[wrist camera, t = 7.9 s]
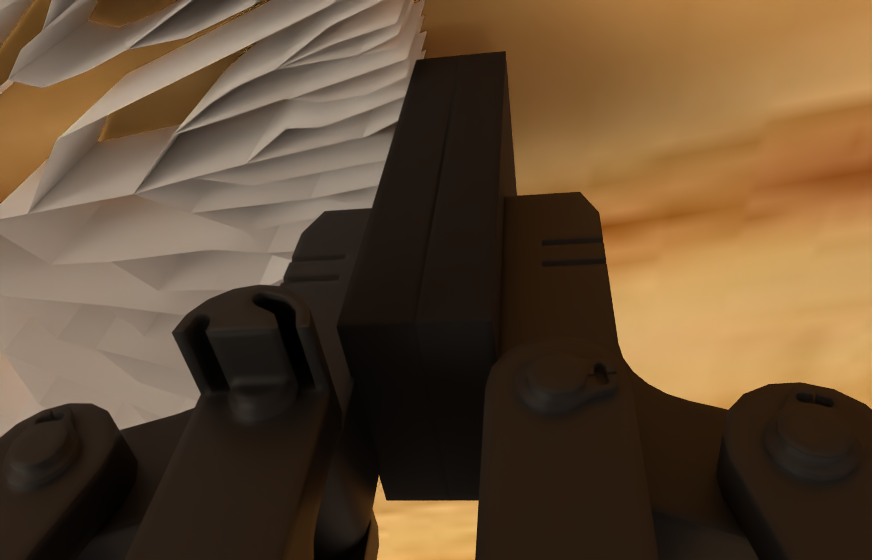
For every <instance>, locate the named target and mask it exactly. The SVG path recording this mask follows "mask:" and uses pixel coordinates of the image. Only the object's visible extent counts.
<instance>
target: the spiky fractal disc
mask: <svg viewBox="0 0 872 560" xmlns="http://www.w3.org/2000/svg"><path fill="white" fill-rule="evenodd" d="M33 1H34V0H0V48H1V46H2V45H3V44H4V42H5V41H6V39H7V38H8V37H9V35H10V34H11V32H12V31H13V30H14V28H15V27H16V25H17V24H18V23H19V21H20V20H21V18H22V17H23V16H24V14H25V13H26V11H27V10H28V8H29V7H30V6H31V4H32V3H33ZM259 1H260V0H178V1H176V2H174V3H172V4H171V5H169V6H167V7H165V8H163V9H162V10H160V11H158V12H156V13H154V14H151V15H149V16H146V17H143V18H141V19H138V20H136V21H133V22H131V23H128V24H126V25H123V26H121V27H115V26H110V25H106V24H102V23H98V22H93V21H89V18H90V16H91V14H92V12H93V10H94V8H95V6H96V4H97V2H98V0H51V3H50V7H49V10H48V13H47V16H46V20H45V23H44V26H43V30H42V31H41V32H40V33H39V34H38V35H37V36H36V37H34V38H33V39H32V40H31V41H30V42H29V43H28V44H26V45H25V46H24V47H23V48H22V49H21V50H20V53H19V55H18V57H17V59H16V62H15V64H14V66H13V69H12V71H11V73H10V75H9V78H8V80H7V81H6V82H4V83H3V84H2V85H1V86H0V94H1V93H2V92H4V91H5V90H6V89H7V88H8V87H9V86H11V85H12V84H13V83H14V82H18V83H23V84H27V85H32V86H36V87H40V88H45V87H48V86H50V85H53V84H55V83H58V82H61V81H63V80H66V79H69V78H71V77H74V76H77V75H79V74H82V73H84V72H87V71H89V70H91V69H92V68H94V67H96V66H98V65H100V64H102V63H103V62H105V61H107V60H109V59H111V58H113V57H115V56H116V55H118V54H120V53H122V52H124V51H126V50H130V49H135V48H139V47H144V46H149V45H154V44H159V43H163V42H168V41H173V40H178V39H183V38H187V37H189V36H191V35H193V34H195V33H197V32H199V31H201V30H203V29H205V28H207V27H210V26H212V25H214V24H216V23H218V22H220V21H222V20H224V19H226V18H228V17H230V16H232V15H235V14H237V13H239V12H241V11H243V10H245V9H247V8H249V7H251V6H253V5H254V4H256V3H257V2H259ZM425 1H426V0H422V1H419V2H416V3H414V4H413V2H414V0H270V1H268V2H266V3H264V4H262V5H260V6H259V7H257V8H255V9H253V10H251V11H249V12H247V13H245V14H243V15H241V16H239V17H237V18H235V19H233V20H231V21H229V22H227V23H225V24H223V25H221V26H219V27H217V28H215V29H213V30H212V31H210V32H208V33H206V34H204V35H202V36H200V37H198V38H196V39H194V40H192V41H190V42H188V43H186V44H184V45H182V46H180V47H178V48H176V49H174V50H172V51H170V52H168V53H167V54H165V55H163V56H161V57H159V58H157V59H155V60H153V61H151V62H149V63H147V64H145V65H143V66H141V67H139V68H137V69H135V70H133V71H131V72H129V73H127V74H126V75H125V76H124V77H123V78H121V79H120V80H119V81H118V82H117V83H116V84H115V85H114V86H113V87H112V88H111V89H110V90H109V91H108V92H107V93H106V94H104V95H103V96H102V97H101V98H100V99H99V100H98V101H97V102H96V103H95V104H94V105H93V106H92V107H91V108H90V109H89V110H87V111H86V112H85V113H84V114H83V115H82V116H81V117H80V118H79V119H78V120H77V121H76V122H75V123H74V124H73V125H72V126H70V127H69V128H68V129H67V130H66V131H65V132H64V133H63V134H62V135H61V136H60V137H59V138H58V139H57V140H56V141H55V144H54V146H53V149H52V151H51V154H50V157H49V158H48V159H46V160H45V161H44V162H43V163H42V164H41V165H40V166H39V167H38V168H37V169H36V170H35V171H34V172H33V173H32V174H31V175H30V176H29V177H28V178H27V179H26V180H25V181H24V182H23V183H22V184H21V185H19V186H18V187H17V188H16V189H15V190H14V191H13V192H12V193H11V194H10V195H9V196H8V197H7V198H6V199H5V200H4V201H3V202H2V203H1V204H0V437H1V436H3V435H4V434H5V433H6V432H7V431H9V430H10V429H11V428H12V427H14V426H15V425H16V424H18V423H19V422H21V421H23V420H25V419H27V418H29V417H31V416H33V415H35V414H37V413H39V412H41V411H42V410H46V409H49V408H53V407H57V406H60V405H64V404H68V403H92V404H94V405H96V406H98V407H100V408H103V409H105V410H107V411H108V412H109V413H110V415H111V417H112V418H113V420H114V422H115V423H116V425H117V427H118V428H119V430H121V429H125V428H129V427H132V426H136V425H139V424H143V423H147V422H150V421H154V420H157V419H161V418H165V417H168V416H172V415H175V414H178V413H181V412H184V411H187V410H189V409H192V408H195V406H196V404H197V401H198V399H199V397H200V395H201V393H200V391H199V389H198V387H197V385H196V383H195V381H194V379H193V377H192V375H191V372H190V370H189V368H188V366H187V364H186V362H185V360H184V358H183V356H182V353H181V351H180V349H179V347H178V345H177V343H176V341H175V339H174V337H173V335H172V331H173V330H174V329H175V328H176V326H177V325H178V324H179V323H180V321H181V320H182V319H183V318H184V317H185V315H186V314H187V313H189V312H190V311H192V310H193V309H195V308H196V307H198V306H199V305H200V304H202V303H203V302H205V301H206V300H208V299H210V298H212V297H215V296H217V295H220V294H222V293H225V292H227V291H229V290H232V289H236V288H241V287H247V286H253V285H259V284H260V285H272V286H280V284H281V283H283V282H284V280H283V277H284V274H285V272H286V269H287V267H288V265H289V262H292V255H293V253H294V250H295V248H296V245H297V243H298V241H299V238H300V236H301V233H302V232H303V231H304V230H305V229H306V228H307V227H309V226H310V225H311V224H312V223H313V222H314V221H315V220H316V219H317V218H318V217H319V216H320V215H321V214H322V213H323V212H324V211H332V210H348V209H363V208H372V205H373V202H374V199H375V195H376V192H377V189H378V185H379V182H380V179H381V175H382V172H383V169H384V165H385V162H386V159H387V155H388V152H389V149H390V145H391V142H392V139H393V135H394V132H395V129H396V125H397V122H398V119H399V115H400V112H401V109H402V105H403V102H404V99H405V95H406V92H407V89H408V85H409V82H410V79H411V75H412V72H413V69H414V65H415V62H416V60H419V59H424V56H425V53H426V50H424V51H422V47H423V44H424V40H425V37H426V33H427V31H424V32H422V33H420V30H421V26H422V23H423V20H424V17H425V15H424V16H422V17H420V16H421V13H422V10H423V7H424V4H425ZM419 33H420V34H419ZM257 41H258V42H257ZM255 42H257V43H256V44H254V45H253V46H252V47H251V48H250V49H249V50H247V51H246V52H245V53H244V54H243V55H242V56H240V57H239V58H238V59H237V60H236V61H235V62H233V63H232V64H231V65H230V66H229V67H228V68H226V70H225V71H224V72H223V73H222V75H221V76H220V77H219V78H218V79H217V81H216V82H215V83H214V84H213V86H212V87H211V88H210V89H209V91H208V92H207V93H206V94H205V96H204V97H203V98H202V99H201V101H200V102H199V103H198V104H197V106H196V107H195V108H194V109H193V111H192V112H191V113H190V114H189V115H188V117H187V118H186V119H185V120H184V122H183V123H182V124H181V125H176V126H171V127H166V128H161V129H156V130H152V131H147V132H142V133H137V134H132V135H127V136H123V137H118V138H113V139H108V140H103V141H98V139H99V136H100V134H101V132H102V129H103V127H104V125H105V122H106V120H107V118H108V115H109V114H110V113H112V112H114V111H117V110H119V109H121V108H123V107H125V106H127V105H129V104H131V103H133V102H135V101H137V100H139V99H141V98H143V97H145V96H147V95H149V94H151V93H153V92H155V91H157V90H159V89H161V88H163V87H165V86H167V85H169V84H171V83H173V82H175V81H178V80H180V79H182V78H184V77H186V76H188V75H190V74H192V73H194V72H196V71H198V70H200V69H202V68H204V67H206V66H208V65H210V64H212V63H214V62H216V61H218V60H220V59H222V58H224V57H226V56H228V55H230V54H232V53H234V52H236V51H239V50H241V49H243V48H245V47H247V46H249V45H251V44H253V43H255ZM421 51H422V52H421ZM97 141H98V142H97Z"/></svg>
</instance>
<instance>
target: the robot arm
mask: <svg viewBox="0 0 872 560" xmlns="http://www.w3.org/2000/svg"><path fill="white" fill-rule="evenodd" d="M283 280H284V282H283V283H281V284H280V286H272V285H260V284H259V285H253V286H247V287H241V288H236V289H232V290H229V291H227V292H225V293H222V294H220V295H217V296H215V297H212V298H210V299H208V300H206V301H205V302H203V303H202V304H200V305H199V306H198V307H196V308H195V309H193V310H192V311H190V312H189V313H187V314H186V315H185V317H184V318H183V319H182V320H181V321H180V323H179V324H178V325H177V326H176V328H175V329H174V330H173V331H172V335H173V337H174V339H175V341H176V343H177V345H178V347H179V349H180V351H181V353H182V356H183V358H184V360H185V362H186V364H187V366H188V368H189V370H190V372H191V375H192V377H193V379H194V381H195V383H196V385H197V387H198V389H199V391H200V393H201V395H200V397H199V399H198V401H197V404H196V406H195V408H192V409H189V410H187V411H184V412H181V413H178V414H175V415H172V416H168V417H165V418H161V419H157V420H154V421H150V422H147V423H143V424H139V425H136V426H132V427H129V428H125V429H121V430H119V428H118V427H117V425H116V423H115V422H114V420H113V418H112V417H111V415H110V413H109V412H108V411H107V410H105V409H103V408H100V407H98V406H96V405H94V404H92V403H68V404H64V405H60V406H57V407H53V408H49V409H46V410H42V411H41V412H39V413H37V414H35V415H33V416H31V417H29V418H27V419H25V420H23V421H21V422H19V423H18V424H16V425H15V426H14V427H12V428H11V429H10V430H9V431H7V432H6V433H5V434H4V435H3V436H1V437H0V560H377V554H378V548H379V536H378V525H377V522H376V519H375V516H374V512H373V509H372V508H373V503H374V498H375V492H376V487H377V482H378V476H380V480H381V483H382V486H383V490H384V493H385V497H386V500H479V505H478V522H477V540H476V557H475V560H872V409H870V408H869V407H868V406H867V405H866V404H864V403H862V402H860V401H857V400H855V399H853V398H851V397H849V396H847V395H845V394H843V393H841V392H838V391H836V390H834V389H830V388H825V387H820V386H815V385H810V384H805V383H801V382H800V383H781V384H768V385H766V386H763V387H761V388H758V389H756V390H753V391H750V392H748V393H745V394H743V395H742V396H741V398H740V399H739V400H738V401H737V402H736V403H735V404H734V405H733V406H732V407H731V408H730V409H729V410H727V409H723V408H718V407H714V406H709V405H705V404H701V403H696V402H692V401H688V400H685V399H681V398H678V397H675V396H672V395H669V394H666V393H664V392H662V391H660V390H659V389H657V388H655V387H653V386H651V385H649V384H647V383H646V382H645V381H644V380H643V379H641V378H640V377H639V376H638V375H637V374H635V373H634V372H633V371H632V369H631V368H630V367H629V365H628V364H627V363H626V361H625V360H624V358H623V356H622V353H621V350H620V347H619V344H618V338H617V331H616V324H615V317H614V311H613V304H612V297H611V290H610V283H609V277H608V270H607V264H606V256H605V249H604V243H603V236H602V229H601V222H600V215H599V212H598V211H597V210H596V209H595V207H594V206H593V205H592V204H591V203H590V202H589V201H588V200H587V199H586V198H585V197H584V196H583V195H582V194H581V193H580V192H569V193H554V194H538V195H523V196H517V191H516V178H515V165H514V152H513V139H512V127H511V114H510V101H509V88H508V75H507V62H506V51H502V52H492V53H481V54H471V55H460V56H450V57H440V58H429V59H419V60H416V62H415V65H414V69H413V72H412V75H411V79H410V82H409V85H408V89H407V92H406V95H405V99H404V102H403V105H402V109H401V112H400V115H399V119H398V122H397V125H396V129H395V132H394V135H393V139H392V142H391V145H390V149H389V152H388V155H387V159H386V162H385V165H384V169H383V172H382V175H381V179H380V182H379V185H378V189H377V192H376V195H375V199H374V202H373V205H372V208H363V209H348V210H332V211H324V212H323V213H322V214H321V215H320V216H319V217H318V218H317V219H316V220H315V221H314V222H313V223H312V224H311V225H310V226H309V227H307V228H306V229H305V230H304V231H303V232H302V233H301V236H300V238H299V241H298V243H297V245H296V248H295V250H294V253H293V255H292V262H289V265H288V267H287V269H286V272H285V274H284V277H283Z"/></svg>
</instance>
